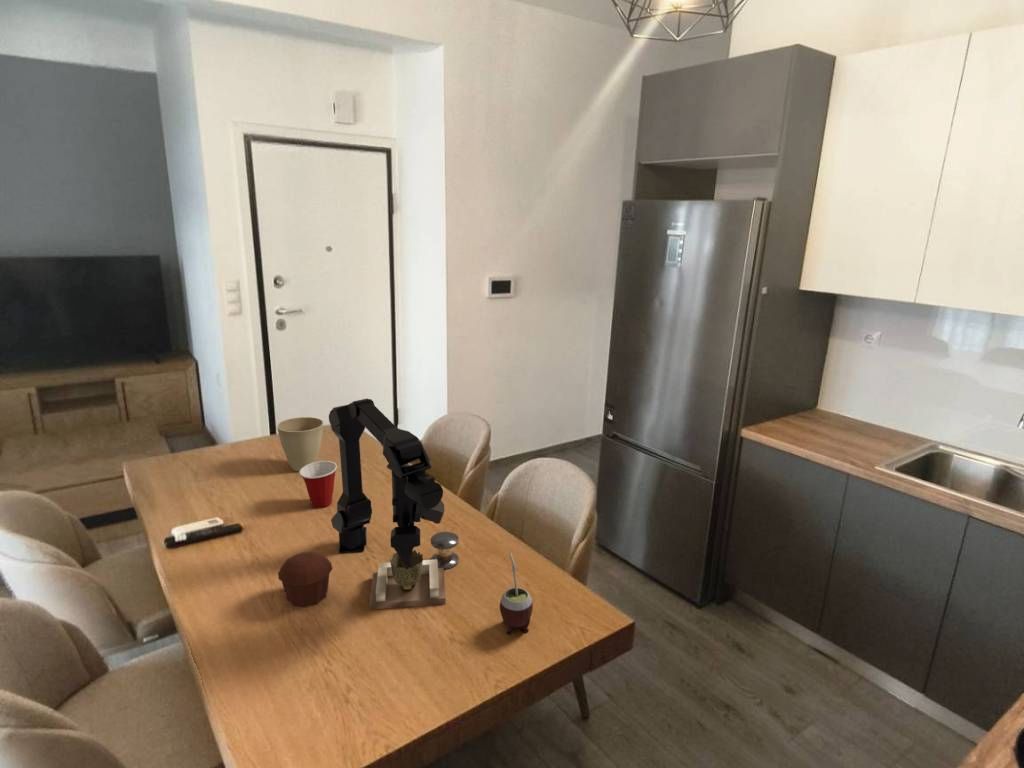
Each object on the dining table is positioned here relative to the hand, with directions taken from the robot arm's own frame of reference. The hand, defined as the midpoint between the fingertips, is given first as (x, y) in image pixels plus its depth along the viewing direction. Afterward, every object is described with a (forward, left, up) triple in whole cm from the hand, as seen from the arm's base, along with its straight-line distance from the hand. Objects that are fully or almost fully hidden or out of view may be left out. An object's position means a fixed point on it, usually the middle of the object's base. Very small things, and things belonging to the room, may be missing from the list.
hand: (407, 553), depth 134 cm
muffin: (-23, +2, -11) cm, 26 cm away
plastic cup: (-27, +47, -11) cm, 55 cm away
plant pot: (-37, +75, -11) cm, 85 cm away
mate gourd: (+23, -14, -11) cm, 29 cm away
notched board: (0, +1, -11) cm, 11 cm away
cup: (0, 0, -9) cm, 9 cm away
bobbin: (+9, +12, -11) cm, 18 cm away
